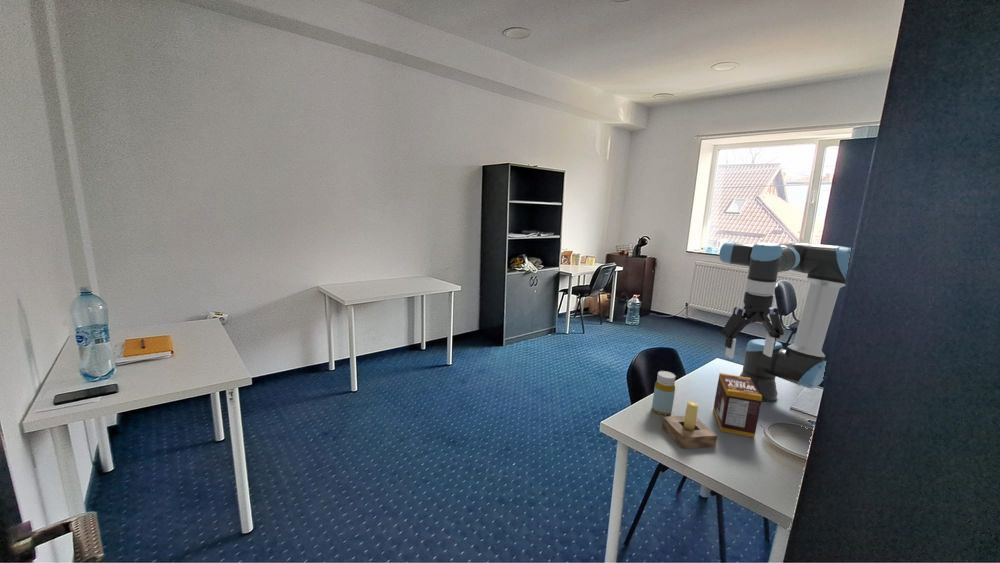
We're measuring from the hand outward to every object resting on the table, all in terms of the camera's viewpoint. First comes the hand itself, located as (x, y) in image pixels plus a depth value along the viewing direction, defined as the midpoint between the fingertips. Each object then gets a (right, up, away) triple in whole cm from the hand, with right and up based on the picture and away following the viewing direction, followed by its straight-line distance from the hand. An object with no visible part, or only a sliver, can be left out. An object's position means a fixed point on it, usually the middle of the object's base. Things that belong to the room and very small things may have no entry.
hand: (748, 356), depth 125 cm
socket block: (-17, -29, +6) cm, 34 cm away
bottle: (-19, -25, +22) cm, 38 cm away
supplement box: (+4, -28, +15) cm, 32 cm away
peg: (-17, -29, +6) cm, 34 cm away
